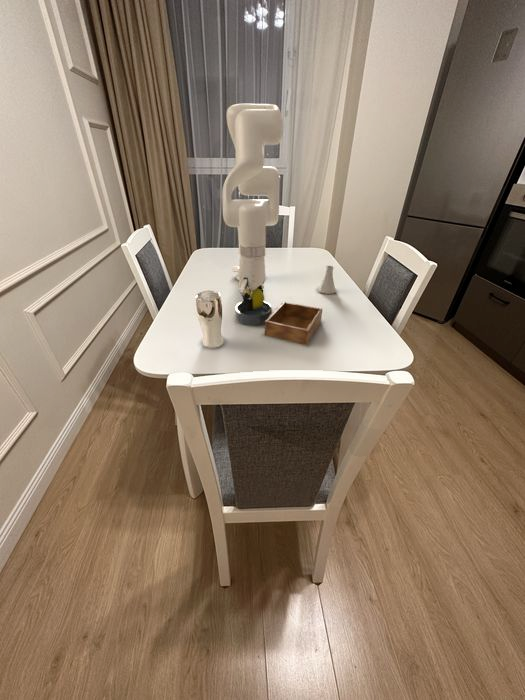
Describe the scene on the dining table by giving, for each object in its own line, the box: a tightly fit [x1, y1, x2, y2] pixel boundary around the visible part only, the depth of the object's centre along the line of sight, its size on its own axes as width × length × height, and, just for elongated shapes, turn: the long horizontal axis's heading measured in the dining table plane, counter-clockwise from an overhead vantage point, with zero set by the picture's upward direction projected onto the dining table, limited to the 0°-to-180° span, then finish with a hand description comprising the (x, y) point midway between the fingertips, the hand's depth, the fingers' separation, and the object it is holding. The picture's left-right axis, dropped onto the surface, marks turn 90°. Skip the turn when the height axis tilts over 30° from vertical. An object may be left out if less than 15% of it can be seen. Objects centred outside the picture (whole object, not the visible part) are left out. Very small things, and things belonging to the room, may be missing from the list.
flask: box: [317, 265, 336, 295], centre depth 115 cm, size 7×7×10 cm
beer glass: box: [195, 290, 224, 349], centre depth 80 cm, size 7×7×15 cm
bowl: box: [234, 300, 273, 327], centre depth 96 cm, size 12×12×4 cm
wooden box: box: [264, 301, 323, 346], centre depth 90 cm, size 14×16×5 cm
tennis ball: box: [246, 287, 265, 309], centre depth 94 cm, size 7×7×7 cm
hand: (253, 304), depth 95 cm, fingers closed on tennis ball, 7 cm apart
